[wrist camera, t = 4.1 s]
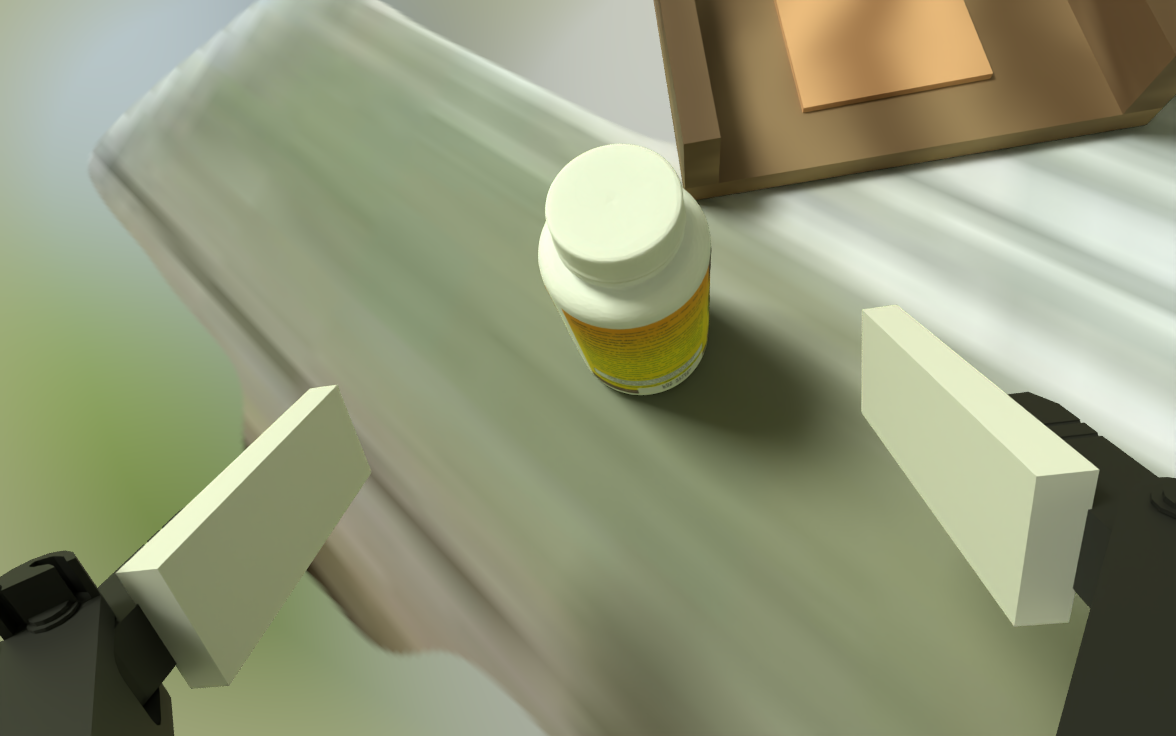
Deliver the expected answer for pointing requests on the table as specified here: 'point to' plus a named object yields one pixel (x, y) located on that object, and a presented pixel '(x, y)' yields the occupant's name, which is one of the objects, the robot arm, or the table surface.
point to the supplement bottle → (628, 267)
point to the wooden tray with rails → (899, 81)
